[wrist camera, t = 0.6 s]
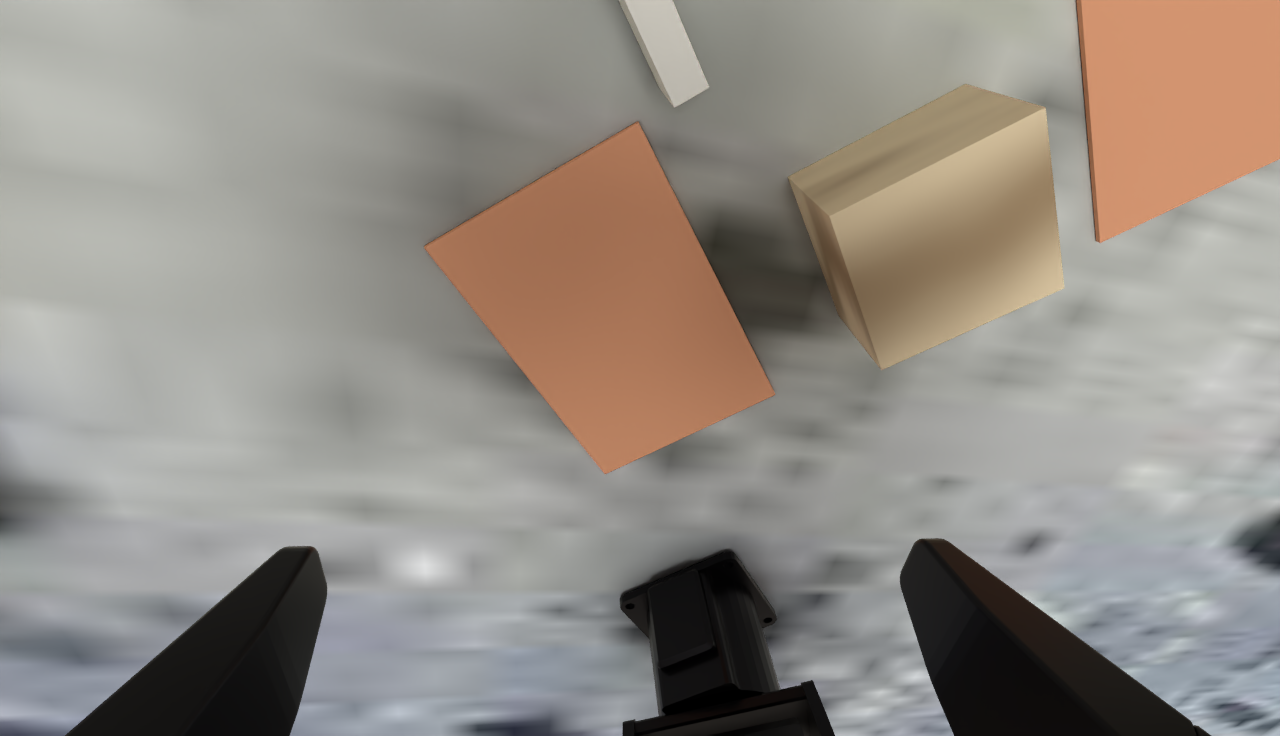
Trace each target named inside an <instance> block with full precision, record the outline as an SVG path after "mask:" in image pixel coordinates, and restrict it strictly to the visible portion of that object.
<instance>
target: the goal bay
mask: <svg viewBox="0 0 1280 736" xmlns="http://www.w3.org/2000/svg"><path fill="white" fill-rule="evenodd" d="M618 1H619V3H620V5H621V7H622V9H623V11H624V14H625V16H626V18H627V20H628V22H629V24H630V26H631V29H632V31H633V33H634V35H635V37H636V39H637V41H638V43H639V46H640V48H641V50H642V52H643V54H644V56H645V58H646V61H647V63H648V65H649V67H650V69H651V71H652V73H653V76H654V78H655V80H656V82H657V84H658V86H659V88H660V90H661V91H662V92H663V94H664V95H665V96H666V97H667V99H668V100H669V101H670V103H671V104H672V105H673V107H674V108H675V107H677V106H678V105H680V104H682V103H684V102H685V101H687V100H689V99H690V98H692V97H694V96H696V95H697V94H699V93H701V92H703V91H704V90H706V89H708V88H709V85H708V83H707V81H706V78H705V76H704V74H703V71H702V69H701V66H700V64H699V62H698V59H697V57H696V55H695V52H694V50H693V48H692V45H691V43H690V40H689V38H688V36H687V33H686V31H685V29H684V26H683V24H682V22H681V19H680V17H679V14H678V12H677V10H676V7H675V5H674V3H673V0H618Z"/></svg>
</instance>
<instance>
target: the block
mask: <svg viewBox="0 0 1280 736" xmlns="http://www.w3.org/2000/svg"><path fill="white" fill-rule="evenodd" d="M788 179H789V182H790V185H791V187H792V190H793V193H794V195H795V198H796V201H797V204H798V206H799V209H800V212H801V215H802V217H803V220H804V223H805V225H806V228H807V231H808V234H809V236H810V239H811V242H812V244H813V247H814V250H815V253H816V255H817V258H818V261H819V264H820V266H821V269H822V272H823V274H824V277H825V280H826V283H827V285H828V288H829V291H830V294H831V296H832V299H833V302H834V304H835V307H836V310H837V313H838V315H839V317H840V318H841V319H842V320H843V322H844V323H845V324H846V326H847V327H848V328H849V329H850V331H851V332H852V333H853V334H854V336H855V337H856V338H857V340H858V341H859V342H860V343H861V345H862V346H863V347H864V348H865V350H866V351H867V352H868V354H869V355H870V356H871V357H872V359H873V360H874V361H875V363H876V364H877V365H878V366H879V368H880V369H881V370H883V369H885V368H888V367H890V366H892V365H894V364H897V363H899V362H901V361H903V360H905V359H908V358H910V357H912V356H914V355H917V354H919V353H921V352H923V351H925V350H928V349H930V348H932V347H934V346H937V345H939V344H941V343H943V342H945V341H948V340H950V339H952V338H954V337H957V336H959V335H961V334H963V333H966V332H968V331H970V330H972V329H974V328H977V327H979V326H981V325H983V324H986V323H988V322H990V321H992V320H994V319H997V318H999V317H1001V316H1003V315H1006V314H1008V313H1010V312H1012V311H1014V310H1017V309H1019V308H1021V307H1023V306H1026V305H1028V304H1030V303H1032V302H1034V301H1037V300H1039V299H1041V298H1043V297H1046V296H1048V295H1050V294H1052V293H1054V292H1057V291H1059V290H1061V289H1063V288H1064V280H1063V271H1062V261H1061V251H1060V242H1059V232H1058V223H1057V213H1056V203H1055V194H1054V184H1053V175H1052V165H1051V156H1050V146H1049V136H1048V127H1047V117H1046V108H1045V107H1042V106H1039V105H1036V104H1032V103H1029V102H1025V101H1022V100H1019V99H1015V98H1012V97H1008V96H1005V95H1001V94H998V93H995V92H991V91H988V90H984V89H981V88H978V87H974V86H971V85H967V84H964V85H963V86H961V87H959V88H957V89H955V90H953V91H951V92H949V93H947V94H945V95H943V96H942V97H940V98H938V99H936V100H934V101H932V102H930V103H928V104H926V105H924V106H922V107H920V108H919V109H917V110H915V111H913V112H911V113H909V114H907V115H905V116H903V117H901V118H899V119H898V120H896V121H894V122H892V123H890V124H888V125H886V126H884V127H882V128H880V129H878V130H876V131H875V132H873V133H871V134H869V135H867V136H865V137H863V138H861V139H859V140H857V141H855V142H854V143H852V144H850V145H848V146H846V147H844V148H842V149H840V150H838V151H836V152H834V153H832V154H831V155H829V156H827V157H825V158H823V159H821V160H819V161H817V162H815V163H813V164H811V165H810V166H808V167H806V168H804V169H802V170H800V171H798V172H796V173H794V174H792V175H790V176H788Z"/></svg>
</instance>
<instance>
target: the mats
mask: <svg viewBox="0 0 1280 736" xmlns="http://www.w3.org/2000/svg"><path fill="white" fill-rule="evenodd" d="M1077 12H1078V25H1079V37H1080V49H1081V61H1082V74H1083V86H1084V98H1085V110H1086V122H1087V135H1088V147H1089V159H1090V171H1091V183H1092V196H1093V208H1094V220H1095V232H1096V241H1097V242H1099V243H1101V242H1103V241H1105V240H1107V239H1109V238H1112V237H1114V236H1116V235H1118V234H1120V233H1122V232H1124V231H1127V230H1129V229H1131V228H1133V227H1135V226H1137V225H1139V224H1142V223H1144V222H1146V221H1148V220H1150V219H1152V218H1154V217H1157V216H1159V215H1161V214H1163V213H1165V212H1167V211H1169V210H1172V209H1174V208H1176V207H1178V206H1180V205H1182V204H1184V203H1186V202H1189V201H1191V200H1193V199H1195V198H1197V197H1199V196H1201V195H1204V194H1206V193H1208V192H1210V191H1212V190H1214V189H1216V188H1219V187H1221V186H1223V185H1225V184H1227V183H1229V182H1231V181H1234V180H1236V179H1238V178H1240V177H1242V176H1244V175H1246V174H1249V173H1251V172H1253V171H1255V170H1257V169H1259V168H1261V167H1263V166H1266V165H1268V164H1270V163H1272V162H1274V161H1276V160H1278V159H1280V0H1077ZM424 248H425V250H426V251H427V252H428V253H429V255H430V256H431V257H432V258H433V260H434V261H435V262H436V263H437V265H438V266H439V267H440V268H441V270H442V271H443V272H444V273H445V275H446V276H447V277H448V278H449V280H450V281H451V282H452V283H453V285H454V286H455V287H456V288H457V290H458V291H459V292H460V293H461V295H462V296H463V297H464V298H465V300H466V301H467V302H468V303H469V305H470V306H471V307H472V309H473V310H474V311H475V312H476V314H477V315H478V316H479V317H480V319H481V320H482V321H483V322H484V324H485V325H486V326H487V327H488V329H489V330H490V331H491V332H492V334H493V335H494V336H495V337H496V339H497V340H498V341H499V342H500V344H501V345H502V346H503V347H504V349H505V350H506V351H507V352H508V354H509V355H510V356H511V357H512V359H513V360H514V361H515V362H516V364H517V365H518V366H519V367H520V369H521V370H522V371H523V372H524V374H525V375H526V376H527V377H528V379H529V380H530V381H531V382H532V384H533V385H534V386H535V387H536V389H537V390H538V391H539V392H540V394H541V395H542V396H543V397H544V399H545V400H546V401H547V402H548V404H549V405H550V406H551V407H552V409H553V410H554V411H555V412H556V414H557V415H558V416H559V417H560V419H561V420H562V421H563V422H564V424H565V425H566V426H567V427H568V429H569V430H570V431H571V432H572V434H573V435H574V436H575V437H576V439H577V440H578V441H579V442H580V444H581V445H582V446H583V447H584V449H585V450H586V451H587V452H588V454H589V455H590V456H591V457H592V459H593V460H594V461H595V462H596V464H597V465H598V466H599V467H600V469H601V470H602V471H603V472H604V474H607V473H609V472H611V471H613V470H615V469H618V468H620V467H622V466H624V465H626V464H628V463H630V462H633V461H635V460H637V459H639V458H641V457H643V456H645V455H647V454H650V453H652V452H654V451H656V450H658V449H660V448H662V447H665V446H667V445H669V444H671V443H673V442H675V441H677V440H680V439H682V438H684V437H686V436H688V435H690V434H692V433H695V432H697V431H699V430H701V429H703V428H705V427H707V426H710V425H712V424H714V423H716V422H718V421H720V420H722V419H724V418H727V417H729V416H731V415H733V414H735V413H737V412H739V411H742V410H744V409H746V408H748V407H750V406H752V405H754V404H757V403H759V402H761V401H763V400H765V399H767V398H769V397H772V396H774V395H775V393H774V391H773V389H772V387H771V385H770V383H769V381H768V379H767V377H766V375H765V373H764V371H763V369H762V367H761V365H760V363H759V361H758V359H757V357H756V355H755V353H754V351H753V349H752V347H751V345H750V343H749V341H748V339H747V337H746V335H745V333H744V331H743V329H742V327H741V325H740V323H739V321H738V319H737V317H736V315H735V313H734V311H733V309H732V307H731V305H730V303H729V301H728V299H727V297H726V295H725V293H724V291H723V289H722V287H721V285H720V283H719V281H718V279H717V277H716V275H715V273H714V271H713V269H712V267H711V265H710V263H709V261H708V259H707V257H706V255H705V253H704V251H703V249H702V247H701V245H700V243H699V241H698V240H697V238H696V236H695V234H694V232H693V230H692V228H691V226H690V224H689V222H688V220H687V218H686V216H685V214H684V212H683V210H682V208H681V206H680V204H679V202H678V200H677V198H676V196H675V194H674V192H673V190H672V188H671V186H670V184H669V182H668V180H667V178H666V176H665V174H664V172H663V170H662V168H661V166H660V164H659V162H658V160H657V158H656V156H655V154H654V152H653V150H652V148H651V146H650V144H649V142H648V140H647V138H646V136H645V134H644V132H643V130H642V128H641V126H640V124H639V122H638V121H637V122H636V123H634V124H632V125H630V126H629V127H627V128H625V129H624V130H622V131H620V132H618V133H617V134H615V135H613V136H612V137H610V138H608V139H606V140H605V141H603V142H601V143H600V144H598V145H596V146H594V147H593V148H591V149H589V150H588V151H586V152H584V153H582V154H581V155H579V156H577V157H576V158H574V159H572V160H570V161H569V162H567V163H565V164H564V165H562V166H560V167H558V168H557V169H555V170H553V171H552V172H550V173H548V174H546V175H545V176H543V177H541V178H540V179H538V180H536V181H534V182H533V183H531V184H529V185H528V186H526V187H524V188H522V189H521V190H519V191H517V192H516V193H514V194H512V195H510V196H509V197H507V198H505V199H504V200H502V201H500V202H498V203H497V204H495V205H493V206H492V207H490V208H488V209H486V210H485V211H483V212H481V213H480V214H478V215H476V216H474V217H473V218H471V219H469V220H468V221H466V222H464V223H462V224H461V225H459V226H457V227H456V228H454V229H452V230H450V231H449V232H447V233H445V234H444V235H442V236H440V237H438V238H437V239H435V240H433V241H432V242H430V243H428V244H426V245H425V246H424Z"/></svg>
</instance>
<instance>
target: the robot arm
mask: <svg viewBox="0 0 1280 736" xmlns="http://www.w3.org/2000/svg"><path fill="white" fill-rule="evenodd" d="M900 585H901V590H902V593H903V596H904V599H905V602H906V605H907V608H908V611H909V615H910V618H911V621H912V624H913V627H914V630H915V633H916V636H917V640H918V643H919V646H920V649H921V652H922V655H923V658H924V661H925V664H926V667H927V670H928V673H929V676H930V679H931V682H932V684H933V687H934V689H935V692H936V694H937V696H938V699H939V701H940V704H941V706H942V708H943V711H944V713H945V715H946V717H947V720H948V722H949V724H950V727H951V729H952V731H953V734H954V736H1211V735H1210V734H1208V733H1207V732H1206V731H1204V730H1203V729H1201V728H1200V727H1199V726H1196V725H1194V726H1193V724H1192V722H1191V721H1190V720H1189V719H1188V718H1186V717H1185V716H1184V715H1182V714H1181V713H1180V712H1178V711H1177V710H1176V709H1174V708H1173V707H1171V706H1170V705H1169V704H1167V703H1166V702H1165V701H1163V700H1162V699H1161V698H1159V697H1158V696H1157V695H1155V694H1154V693H1153V692H1151V691H1150V690H1148V689H1147V688H1146V687H1144V686H1143V685H1142V684H1140V683H1139V682H1138V681H1136V680H1135V679H1134V678H1132V677H1131V676H1130V675H1128V674H1127V673H1125V672H1124V671H1123V670H1121V669H1120V668H1119V667H1117V666H1116V665H1115V664H1113V663H1112V662H1111V661H1109V660H1108V659H1107V658H1105V657H1104V656H1103V655H1101V654H1100V653H1098V652H1097V651H1096V650H1094V649H1093V648H1092V647H1090V646H1089V645H1088V644H1086V643H1085V642H1084V641H1082V640H1081V639H1080V638H1078V637H1077V636H1075V635H1074V634H1073V633H1071V632H1070V631H1069V630H1067V629H1066V628H1065V627H1063V626H1062V625H1061V624H1059V623H1058V622H1057V621H1055V620H1054V619H1052V618H1051V617H1050V616H1048V615H1047V614H1046V613H1044V612H1043V611H1042V610H1040V609H1039V608H1038V607H1036V606H1035V605H1034V604H1032V603H1031V602H1029V601H1028V600H1027V599H1025V598H1024V597H1023V596H1021V595H1020V594H1019V593H1017V592H1016V591H1015V590H1013V589H1012V588H1011V587H1009V586H1008V585H1007V584H1005V583H1004V582H1002V581H1001V580H1000V579H998V578H997V577H996V576H994V575H993V574H992V573H990V572H989V571H988V570H986V569H985V568H984V567H982V566H981V565H979V564H978V563H977V562H975V561H974V560H973V559H971V558H970V557H969V556H967V555H966V554H965V553H963V552H962V551H961V550H959V549H958V548H956V547H955V546H954V545H952V544H951V543H950V542H948V541H946V540H944V539H939V538H933V539H919V540H918V541H916V542H915V543H914V545H913V547H912V549H911V551H910V553H909V556H908V558H907V560H906V562H905V564H904V566H903V568H902V571H901V574H900ZM326 598H327V583H326V579H325V575H324V572H323V568H322V565H321V561H320V557H319V554H318V551H317V550H316V549H315V548H314V547H311V546H289V547H284V548H282V549H280V550H279V551H277V552H276V553H275V554H274V555H273V556H271V557H270V558H269V559H268V560H267V561H266V562H264V563H263V564H262V565H261V566H260V567H259V568H258V569H256V570H255V571H254V572H253V573H252V574H251V575H249V576H248V577H247V578H246V579H245V580H244V581H243V582H241V583H240V584H239V585H238V586H237V587H236V588H235V589H233V590H232V591H231V592H230V593H229V594H228V595H226V596H225V597H224V598H223V599H222V600H221V601H220V602H218V603H217V604H216V605H215V606H214V607H213V608H211V609H210V610H209V611H208V612H207V613H206V614H205V615H203V616H202V617H201V618H200V619H199V620H198V621H196V622H195V623H194V624H193V625H192V626H191V627H190V628H188V629H187V630H186V631H185V632H184V633H183V634H181V635H180V636H179V637H178V638H177V639H176V640H175V641H173V642H172V643H171V644H170V645H169V646H168V647H166V648H165V649H164V650H163V651H162V652H161V653H160V654H158V655H157V656H156V657H155V658H154V659H153V660H151V661H150V662H149V663H148V664H147V665H146V666H145V667H143V668H142V669H141V670H140V671H139V672H138V673H136V674H135V675H134V676H133V677H132V678H131V679H130V680H128V681H127V682H126V683H125V684H124V685H123V686H122V687H120V688H119V689H118V690H117V691H116V692H115V693H113V694H112V695H111V696H110V697H109V698H108V699H107V700H105V701H104V702H103V703H102V704H101V705H100V706H98V707H97V708H96V709H95V710H94V711H93V712H92V713H90V714H89V715H88V716H87V717H86V718H85V719H83V720H82V721H81V722H80V723H79V724H78V725H77V726H75V727H74V728H73V729H72V730H71V731H70V732H68V733H67V734H66V735H65V736H289V735H290V733H291V730H292V727H293V724H294V721H295V718H296V715H297V712H298V709H299V705H300V702H301V698H302V695H303V691H304V687H305V683H306V679H307V675H308V671H309V667H310V663H311V659H312V655H313V651H314V647H315V643H316V639H317V635H318V631H319V627H320V623H321V619H322V615H323V611H324V607H325V603H326ZM620 608H621V610H622V611H623V612H624V613H625V614H626V615H627V616H628V617H629V618H630V619H631V620H632V621H633V622H634V623H635V624H636V625H637V627H638V628H639V629H640V630H641V631H642V632H643V633H644V634H645V635H646V636H647V637H648V638H649V640H650V648H651V656H652V664H653V672H654V680H655V688H656V696H657V705H658V713H659V716H658V717H654V718H649V719H645V720H640V721H635V719H634V720H630V721H625V722H623V736H835V734H834V732H833V729H832V727H831V724H830V722H829V719H828V717H827V714H826V712H825V709H824V707H823V705H822V702H821V700H820V697H819V695H818V692H817V690H816V687H815V685H814V682H813V680H811V681H807V682H802V683H801V685H799V686H795V687H790V688H786V689H781V690H780V686H779V683H778V680H777V676H776V673H775V670H774V666H773V663H772V659H771V656H770V653H769V649H768V646H767V643H766V639H765V636H764V632H763V629H762V628H764V627H767V626H769V625H772V624H774V623H775V622H776V620H777V618H776V614H775V611H774V609H773V608H772V607H771V605H770V604H769V602H768V601H767V599H766V598H765V596H764V595H763V594H762V592H761V591H760V589H759V588H758V586H757V585H756V583H755V582H754V581H753V579H752V578H751V576H750V575H749V573H748V572H747V571H746V569H745V568H744V566H743V565H742V563H741V562H740V560H739V559H738V558H737V556H736V555H735V554H734V553H732V552H725V553H722V554H719V555H717V556H715V557H712V558H710V559H708V560H705V561H703V562H700V563H698V564H696V565H693V566H691V567H689V568H686V569H684V570H682V571H679V572H677V573H674V574H672V575H670V576H667V577H665V578H663V579H660V580H658V581H656V582H653V583H651V584H648V585H646V586H644V587H641V588H639V589H637V590H634V591H632V592H630V593H627V594H625V595H623V596H622V597H621V598H620Z"/></svg>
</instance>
